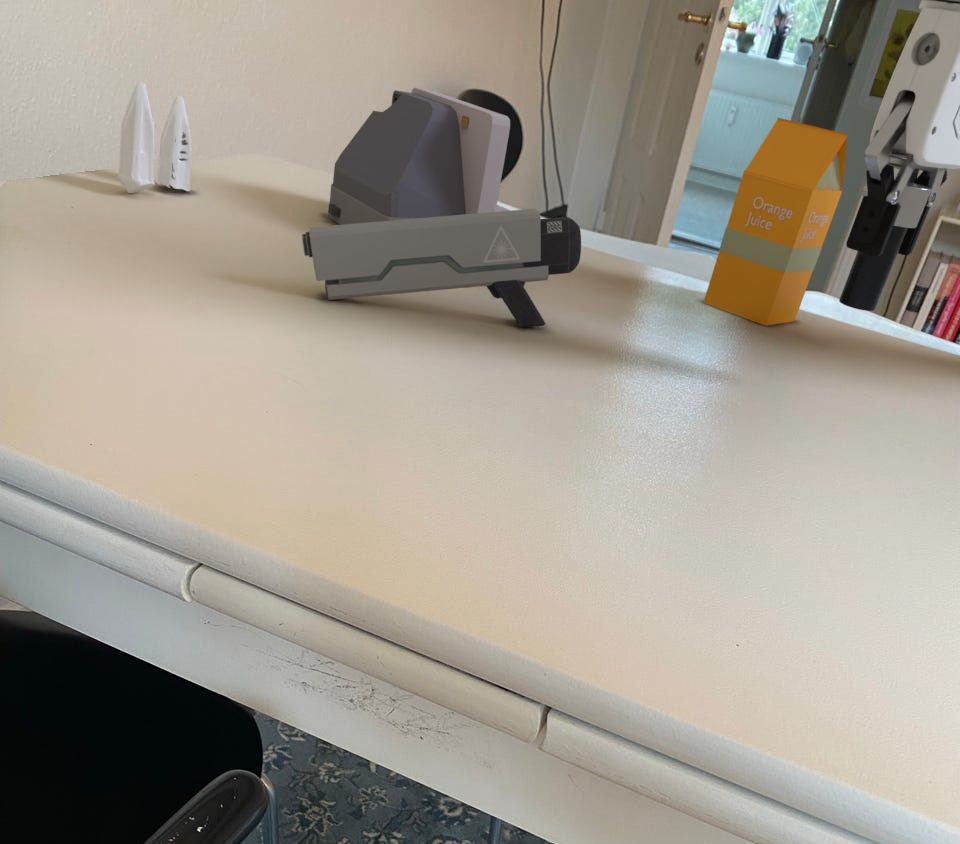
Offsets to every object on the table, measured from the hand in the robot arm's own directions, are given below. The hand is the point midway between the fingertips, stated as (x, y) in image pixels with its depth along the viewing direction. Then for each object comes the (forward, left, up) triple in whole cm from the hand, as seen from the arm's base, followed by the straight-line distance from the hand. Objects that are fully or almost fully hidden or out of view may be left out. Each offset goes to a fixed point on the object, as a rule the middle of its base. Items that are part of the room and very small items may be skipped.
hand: (878, 249), depth 78 cm
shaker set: (+33, -71, -13) cm, 80 cm away
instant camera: (+7, -53, -13) cm, 55 cm away
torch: (0, 0, -5) cm, 5 cm away
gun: (+25, -27, -13) cm, 39 cm away
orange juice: (-20, -22, -13) cm, 32 cm away
